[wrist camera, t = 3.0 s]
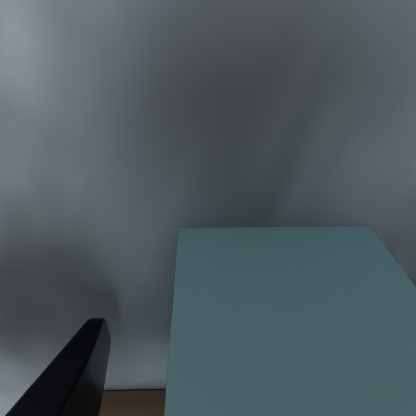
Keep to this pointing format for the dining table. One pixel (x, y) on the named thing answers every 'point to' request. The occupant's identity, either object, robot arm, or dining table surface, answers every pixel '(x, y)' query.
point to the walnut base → (133, 403)
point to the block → (290, 324)
